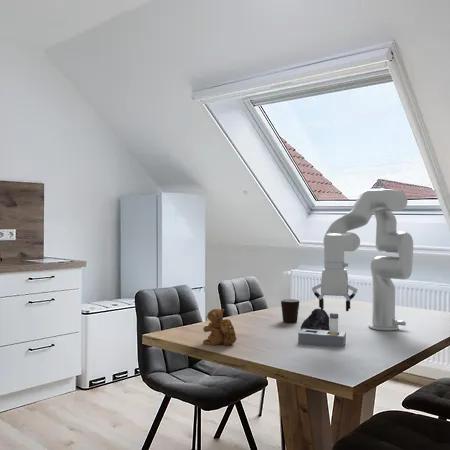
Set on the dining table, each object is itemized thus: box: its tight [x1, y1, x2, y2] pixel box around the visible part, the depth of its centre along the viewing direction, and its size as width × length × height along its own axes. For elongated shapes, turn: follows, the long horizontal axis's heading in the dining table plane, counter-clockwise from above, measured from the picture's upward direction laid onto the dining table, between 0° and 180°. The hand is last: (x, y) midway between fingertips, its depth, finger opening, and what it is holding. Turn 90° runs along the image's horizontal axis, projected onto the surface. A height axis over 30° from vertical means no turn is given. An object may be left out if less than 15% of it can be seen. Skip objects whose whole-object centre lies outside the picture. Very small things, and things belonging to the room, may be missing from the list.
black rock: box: [300, 308, 330, 331], centre depth 234 cm, size 13×14×10 cm
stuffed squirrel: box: [202, 308, 238, 346], centre depth 210 cm, size 10×14×13 cm
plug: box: [329, 312, 339, 335], centre depth 210 cm, size 3×3×11 cm
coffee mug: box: [280, 298, 300, 324], centre depth 254 cm, size 12×9×10 cm
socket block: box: [297, 329, 347, 348], centre depth 212 cm, size 17×8×4 cm, turn 71°
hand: (334, 310), depth 211 cm, fingers open, 9 cm apart
